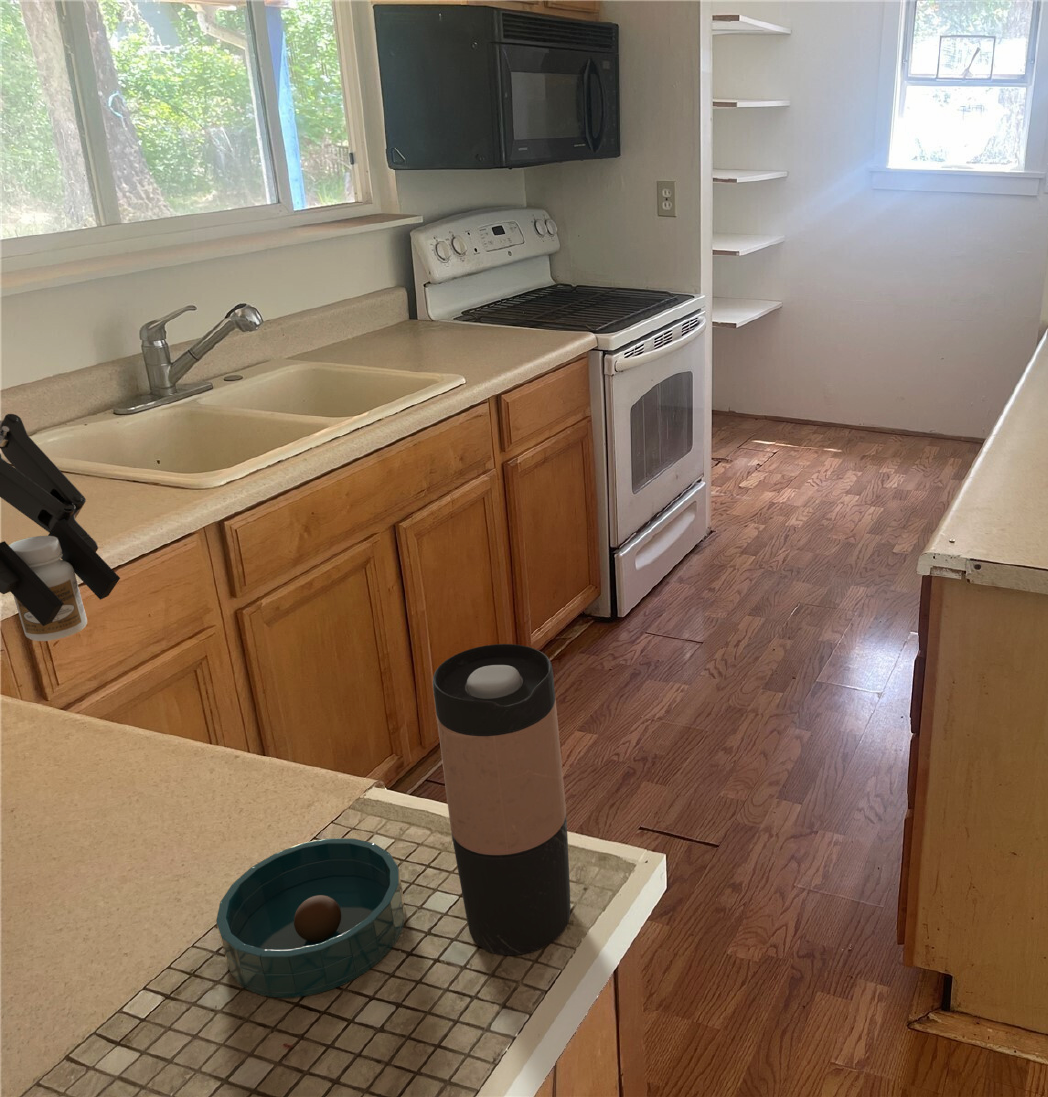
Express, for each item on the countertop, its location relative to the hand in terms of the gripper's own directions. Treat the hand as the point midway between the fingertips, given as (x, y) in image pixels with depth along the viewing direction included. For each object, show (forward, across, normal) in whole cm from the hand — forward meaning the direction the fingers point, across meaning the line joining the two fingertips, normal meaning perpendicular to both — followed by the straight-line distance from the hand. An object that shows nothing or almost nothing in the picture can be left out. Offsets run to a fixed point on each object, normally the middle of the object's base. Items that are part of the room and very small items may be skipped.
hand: (82, 601), depth 82 cm
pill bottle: (0, 0, -5) cm, 5 cm away
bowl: (+32, +9, +7) cm, 34 cm away
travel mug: (+41, +4, +16) cm, 44 cm away
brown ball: (+31, +10, +9) cm, 34 cm away
